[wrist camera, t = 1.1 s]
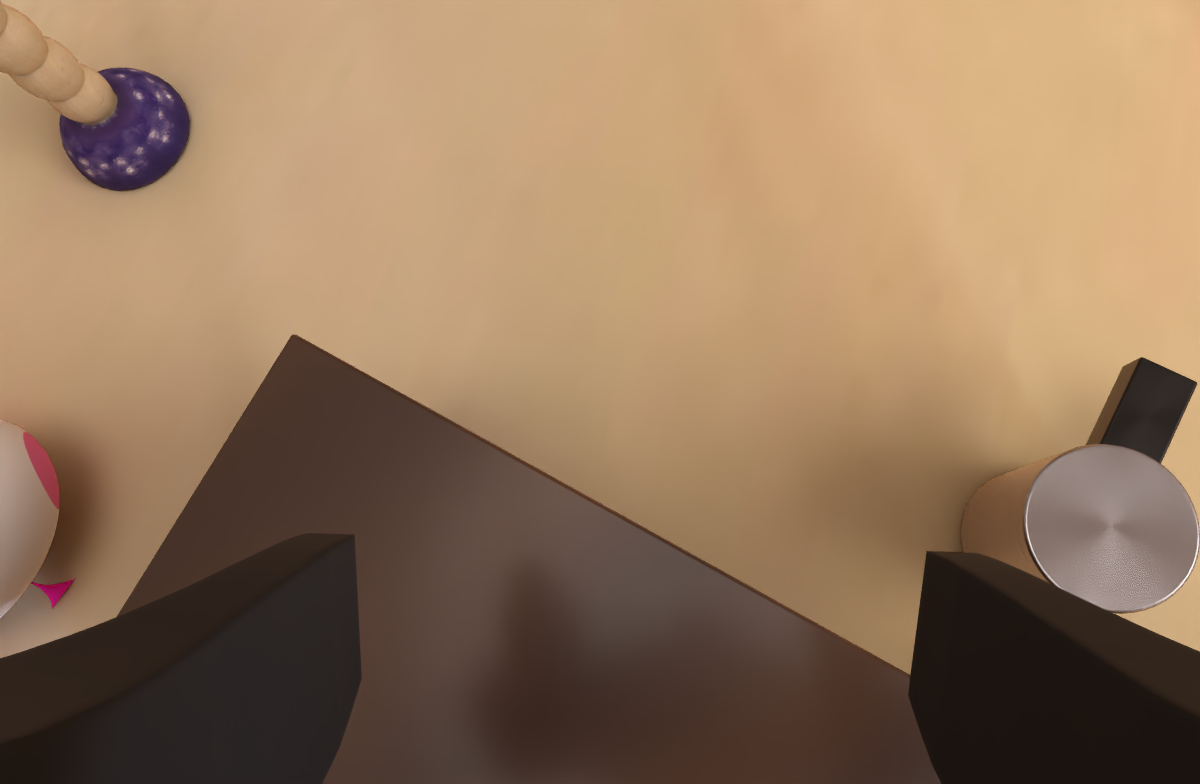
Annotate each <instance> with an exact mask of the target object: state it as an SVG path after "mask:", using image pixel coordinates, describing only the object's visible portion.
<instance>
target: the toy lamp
mask: <svg viewBox="0 0 1200 784" xmlns="http://www.w3.org/2000/svg"><path fill="white" fill-rule="evenodd" d="M0 72H3V73H6V74H9V75H10V76H11V78H12V79H13V80H14V81H15V82H16V83H17V84H18V85H19V86H20V87H22V88H23V89H24V90H26V91H27V92H29V93H30V94H32V95H34V96H36V97H39V98H42V99H46V100H47V101H48V102H49V103H50V105H51V106H52V107H53V108H54V109H55V110H56V111H58V112H59V113H60V114H61V116H60V135H61V139H62V144H63V147H64V149H65V151H66V153H67V155H68V157H69V158H70V160H71V161H72V163H73V164H74V165H75V167H76V168H77V169H78V170H79V171H80V172H81V173H82V174H83V175H84V176H85V177H86V178H87V179H88V180H90V181H91V182H93V183H94V184H96V185H99V186H101V187H103V188H108V189H111V190H118V191H121V190H132V189H136V188H139V187H142V186H145V185H147V184H151V183H152V182H153V181H155V180H157V179H158V178H159V177H161V176H162V175H164V174H165V173H166V172H167V171H168V170H169V169H170V168H171V167H172V166H173V165H174V164H175V163H176V161H177V160H178V158H179V156H180V155H181V153H182V151H183V149H184V147H185V145H186V141H187V138H188V134H189V122H190V120H189V115H188V111H187V109H186V106H185V103H184V102H183V100H182V98H181V97H180V95H179V94H178V93H177V92H176V91H175V90H174V89H173V87H172V86H171V85H170V84H168V83H167V82H165V81H164V80H162V79H161V78H159V77H157V76H155V75H152V74H150V73H147V72H145V71H142V70H138V69H132V68H110V69H105V70H102V71H98V72H96V71H95V70H93V69H92V68H90V67H88V66H86V65H83V64H80V63H79V62H78V60H77V59H76V58H75V56H74V55H73V54H72V53H71V52H70V51H69V50H68V49H67V48H66V47H65V46H63V45H62V44H60V43H59V42H57V41H55V40H53V39H51V38H49V37H46V36H43V35H42V33H41V31H40V30H39V28H38V27H37V26H36V25H35V24H34V23H33V22H32V21H31V20H30V19H29V18H28V17H27V16H25V15H24V14H22V13H21V12H19V11H18V10H16V9H14V8H12V7H9V6H7V5H4V4H2V3H1V1H0Z"/></svg>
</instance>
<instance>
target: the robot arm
mask: <svg viewBox="0 0 1200 784" xmlns="http://www.w3.org/2000/svg"><path fill="white" fill-rule="evenodd" d="M361 679H362V672H361V652H360V632H359V612H358V591H357V571H356V551H355V534H325V533H305V534H301V535H298V536H295V537H292V538H289V539H287V540H284V541H282V542H280V543H277V544H275V545H273V546H271V547H269V548H266V549H264V550H262V551H260V552H258V553H256V554H254V555H252V556H249V557H247V558H245V559H243V560H241V561H239V562H237V563H235V564H233V565H231V566H229V567H227V568H225V569H222V570H220V571H218V572H216V573H214V574H212V575H210V576H208V577H206V578H204V579H202V580H200V581H197V582H195V583H193V584H191V585H189V586H187V587H185V588H182V589H180V590H178V591H176V592H173V593H171V594H169V595H166V596H164V597H162V598H160V599H157V600H155V601H153V602H150V603H148V604H146V605H144V606H141V607H139V608H137V609H134V610H132V611H130V612H128V613H125V614H123V615H121V616H118V617H116V618H114V619H111V620H109V621H106V622H104V623H101V624H99V625H96V626H94V627H91V628H88V629H86V630H83V631H80V632H78V633H75V634H72V635H70V636H67V637H64V638H61V639H58V640H55V641H52V642H49V643H46V644H43V645H40V646H37V647H34V648H31V649H29V650H26V651H23V652H20V653H16V654H13V655H10V656H7V657H4V658H0V784H322V783H323V781H324V779H325V777H326V775H327V773H328V771H329V769H330V767H331V765H332V762H333V760H334V758H335V756H336V754H337V752H338V750H339V747H340V745H341V742H342V739H343V736H344V733H345V730H346V727H347V724H348V721H349V718H350V715H351V712H352V709H353V705H354V702H355V699H356V696H357V692H358V689H359V686H360V682H361ZM908 697H909V700H910V703H911V706H912V709H913V712H914V715H915V718H916V721H917V724H918V727H919V730H920V733H921V736H922V739H923V741H924V744H925V747H926V750H927V752H928V755H929V758H930V760H931V763H932V766H933V768H934V770H935V772H936V774H937V776H938V778H939V780H940V782H941V784H1200V652H1199V651H1197V650H1194V649H1192V648H1190V647H1187V646H1185V645H1183V644H1180V643H1178V642H1176V641H1173V640H1171V639H1169V638H1166V637H1164V636H1162V635H1159V634H1157V633H1155V632H1153V631H1150V630H1148V629H1146V628H1144V627H1142V626H1139V625H1137V624H1135V623H1133V622H1131V621H1128V620H1126V619H1124V618H1122V617H1120V616H1118V615H1116V614H1113V613H1111V612H1109V611H1107V610H1105V609H1103V608H1101V607H1099V606H1097V605H1094V604H1092V603H1090V602H1088V601H1086V600H1084V599H1082V598H1080V597H1078V596H1076V595H1074V594H1071V593H1069V592H1067V591H1065V590H1063V589H1061V588H1059V587H1057V586H1055V585H1053V584H1051V583H1048V582H1046V581H1044V580H1042V579H1040V578H1038V577H1036V576H1034V575H1032V574H1029V573H1027V572H1025V571H1023V570H1021V569H1018V568H1016V567H1014V566H1011V565H1009V564H1007V563H1004V562H1002V561H999V560H997V559H994V558H991V557H989V556H985V555H982V554H979V553H967V552H933V551H927V553H926V561H925V569H924V576H923V584H922V592H921V599H920V607H919V615H918V622H917V630H916V637H915V645H914V653H913V660H912V668H911V676H910V683H909V691H908Z"/></svg>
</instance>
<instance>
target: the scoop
mask: <svg viewBox="0 0 1200 784" xmlns="http://www.w3.org/2000/svg"><path fill="white" fill-rule="evenodd" d="M1196 386H1197V382H1195V381H1193V380H1191V379H1189V378H1187V377H1185V376H1182V375H1180V374H1178V373H1176V372H1174V371H1171V370H1169V369H1167V368H1165V367H1163V366H1161V365H1158V364H1156V363H1154V362H1152V361H1150V360H1147V359H1145V358H1142V357H1141V358H1139V359H1137V360H1135V361H1133V362H1131V363H1129V364H1127V365H1125V366H1123V368H1122V370H1121V372H1120V374H1119V376H1118V378H1117V380H1116V382H1115V384H1114V387H1113V389H1112V391H1111V393H1110V395H1109V397H1108V399H1107V401H1106V404H1105V406H1104V408H1103V410H1102V412H1101V414H1100V416H1099V418H1098V420H1097V423H1096V425H1095V427H1094V429H1093V431H1092V433H1091V435H1090V437H1089V440H1088V442H1087V444H1086V445H1085V446H1080V447H1076V448H1073V449H1071V450H1068V451H1065V452H1062V453H1059V454H1057V455H1054V456H1051V457H1048V458H1046V459H1043V460H1040V461H1037V462H1034V463H1032V464H1029V465H1026V466H1023V467H1020V468H1018V469H1015V470H1012V471H1009V472H1007V473H1004V474H1001V475H998V476H996V477H994V478H992V479H991V480H989V481H988V482H986V483H985V484H983V485H982V486H981V487H980V488H979V489H978V490H977V491H976V492H975V494H974V495H973V496H972V497H971V499H970V501H969V503H968V504H967V507H966V509H965V511H964V515H963V519H962V524H961V541H962V548H963V551H964V552H967V553H979V554H982V555H985V556H989V557H991V558H994V559H997V560H999V561H1002V562H1004V563H1007V564H1009V565H1011V566H1014V567H1016V568H1018V569H1021V570H1023V571H1025V572H1027V573H1029V574H1032V575H1034V576H1036V577H1038V578H1040V579H1042V580H1044V581H1046V582H1048V583H1051V584H1053V585H1055V586H1057V587H1059V588H1061V589H1063V590H1065V591H1067V592H1069V593H1071V594H1074V595H1076V596H1078V597H1080V598H1082V599H1084V600H1086V601H1088V602H1090V603H1092V604H1094V605H1097V606H1099V607H1101V608H1103V609H1105V610H1107V611H1109V612H1111V613H1119V614H1123V613H1134V612H1139V611H1143V610H1147V609H1149V608H1152V607H1155V606H1157V605H1159V604H1161V603H1163V602H1164V601H1166V600H1167V599H1169V598H1170V597H1171V596H1173V595H1174V594H1175V593H1176V592H1177V591H1178V590H1179V589H1180V588H1181V587H1182V586H1183V585H1184V583H1185V582H1186V581H1187V579H1188V578H1189V576H1190V574H1191V572H1192V570H1193V568H1194V566H1195V563H1196V560H1197V557H1198V552H1199V546H1200V530H1199V522H1198V518H1197V514H1196V511H1195V508H1194V506H1193V503H1192V501H1191V499H1190V497H1189V495H1188V493H1187V492H1186V490H1185V489H1184V487H1183V486H1182V484H1181V483H1180V482H1179V481H1178V480H1177V478H1176V477H1175V476H1174V475H1173V474H1172V473H1171V472H1170V471H1169V470H1167V469H1166V468H1165V467H1164V466H1163V465H1161V462H1162V460H1163V458H1164V455H1165V453H1166V451H1167V449H1168V447H1169V445H1170V442H1171V440H1172V438H1173V436H1174V434H1175V431H1176V429H1177V427H1178V425H1179V423H1180V421H1181V418H1182V416H1183V414H1184V412H1185V410H1186V407H1187V405H1188V403H1189V401H1190V399H1191V397H1192V394H1193V392H1194V390H1195V388H1196Z"/></svg>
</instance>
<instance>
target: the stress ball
mask: <svg viewBox="0 0 1200 784" xmlns="http://www.w3.org/2000/svg"><path fill="white" fill-rule="evenodd" d="M59 504H60V499H59V487H58V481H57V476H56V473H55V470H54V467H53V465H52V463H51V460H50V458H49V456H48V455H47V453H46V452H45V450H44V449H43V448H42V446H41V445H40V444H39V443H38V442H37V441H36V440H35V439H34V438H33V437H32V436H31V435H30V434H28V433H27V432H26V431H25V430H23V429H21V428H20V427H18V426H16V425H15V424H12V423H10V422H7V421H4V420H2V419H0V618H1V617H2V616H3V615H4V614H5V613H6V612H7V611H8V610H9V609H10V608H11V607H12V606H13V605H14V604H15V603H16V601H17V600H18V599H19V598H20V597H21V595H22V594H23V593H24V592H25V590H26V589H27V588H28V586H29V585H30V583H31V584H33V585H35V586H37V587H38V588H40V589H41V590H42V591H43V592H44V593H45V594H46V595H47V596H48V597H49V599H50V601H51V603H52V609H53V607H54V606H55V604H56V603H57V602H58V600H59V599H60V598H61V596H62V595H63V594H64V593H65V591H66V590H67V589H68V587H69V586H70V585H71V583H72V582H73V580H74V579H75V578H74V579H72V580H70V581H67V582H63V583H59V584H52V585H43V584H37V583H33V582H32V580H33V579H34V577H35V576H36V574H37V573H38V571H39V569H40V567H41V566H42V564H43V562H44V560H45V558H46V556H47V553H48V551H49V549H50V546H51V543H52V540H53V537H54V534H55V530H56V526H57V521H58V515H59Z"/></svg>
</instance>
